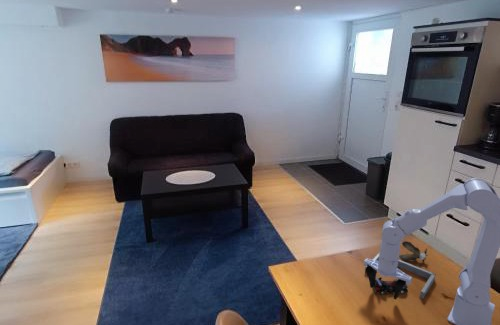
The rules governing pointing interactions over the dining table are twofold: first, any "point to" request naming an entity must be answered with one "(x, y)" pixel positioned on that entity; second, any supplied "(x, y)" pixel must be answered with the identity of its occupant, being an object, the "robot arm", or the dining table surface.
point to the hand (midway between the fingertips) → (383, 291)
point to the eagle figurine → (414, 250)
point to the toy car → (387, 286)
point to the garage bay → (417, 271)
